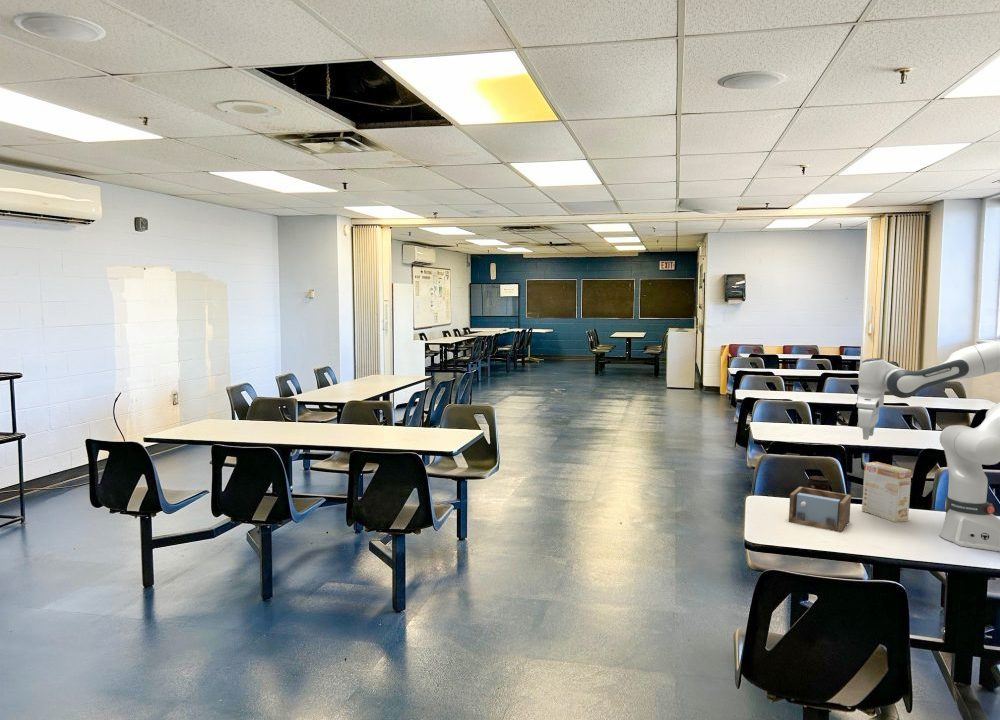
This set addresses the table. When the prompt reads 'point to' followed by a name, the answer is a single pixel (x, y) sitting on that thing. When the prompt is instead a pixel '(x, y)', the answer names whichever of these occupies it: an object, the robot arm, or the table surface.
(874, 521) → the table surface
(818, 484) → the coffee cup
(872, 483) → the coffeecake box
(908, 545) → the table surface
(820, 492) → the cabinet
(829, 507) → the door
